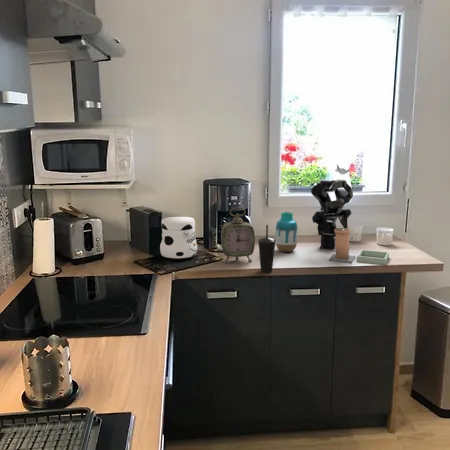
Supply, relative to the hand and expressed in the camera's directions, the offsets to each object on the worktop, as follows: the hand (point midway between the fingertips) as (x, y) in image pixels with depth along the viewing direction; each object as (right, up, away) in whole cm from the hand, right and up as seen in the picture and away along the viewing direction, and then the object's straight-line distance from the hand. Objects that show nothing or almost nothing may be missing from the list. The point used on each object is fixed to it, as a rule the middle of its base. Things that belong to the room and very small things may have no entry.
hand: (338, 230), depth 234 cm
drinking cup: (-35, -17, -19) cm, 43 cm away
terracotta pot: (+1, -12, -1) cm, 12 cm away
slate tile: (+1, -13, -1) cm, 13 cm away
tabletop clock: (-47, -14, -4) cm, 49 cm away
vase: (-23, -10, +13) cm, 28 cm away
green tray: (+15, -13, -2) cm, 20 cm away
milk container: (-74, -13, +3) cm, 75 cm away
